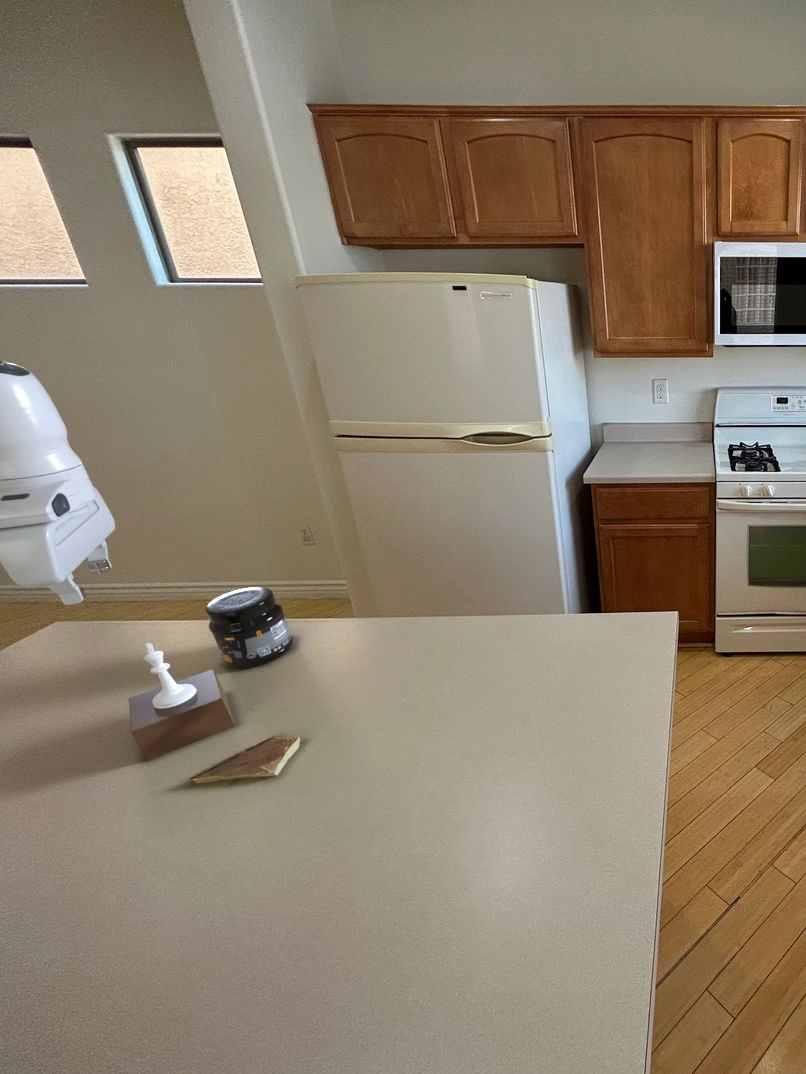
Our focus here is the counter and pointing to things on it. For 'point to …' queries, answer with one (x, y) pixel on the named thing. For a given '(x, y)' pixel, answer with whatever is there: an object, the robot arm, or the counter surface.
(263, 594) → the supplement container
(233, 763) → the shard
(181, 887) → the counter surface
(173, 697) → the chess piece
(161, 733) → the walnut block
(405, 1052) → the counter surface
